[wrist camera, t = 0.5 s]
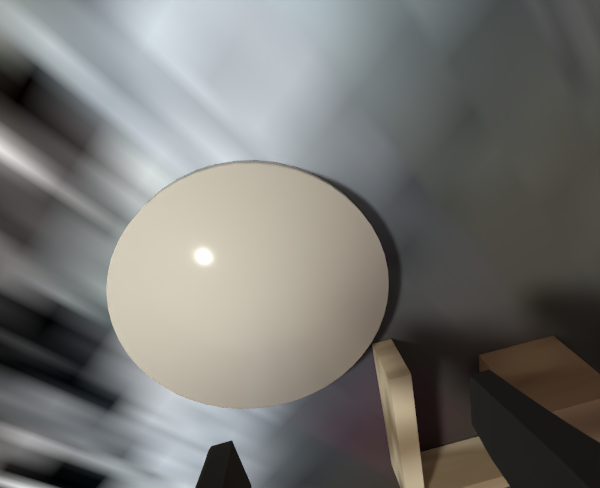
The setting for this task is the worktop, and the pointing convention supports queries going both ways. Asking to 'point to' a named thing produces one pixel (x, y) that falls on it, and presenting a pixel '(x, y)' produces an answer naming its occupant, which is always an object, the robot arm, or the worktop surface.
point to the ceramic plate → (247, 285)
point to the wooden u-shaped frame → (405, 443)
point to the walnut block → (551, 380)
